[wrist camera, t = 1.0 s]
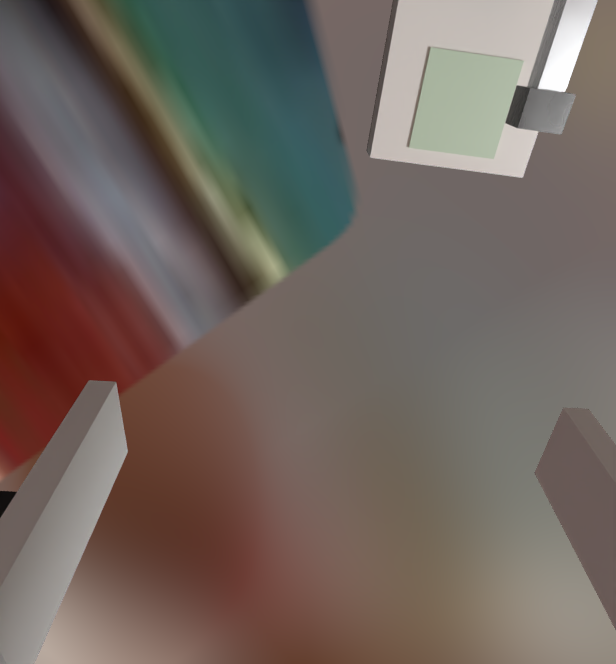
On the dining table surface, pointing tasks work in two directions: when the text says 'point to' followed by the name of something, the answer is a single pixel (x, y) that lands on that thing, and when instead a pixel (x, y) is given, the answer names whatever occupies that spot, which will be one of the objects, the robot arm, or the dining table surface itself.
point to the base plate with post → (457, 83)
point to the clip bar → (552, 70)
